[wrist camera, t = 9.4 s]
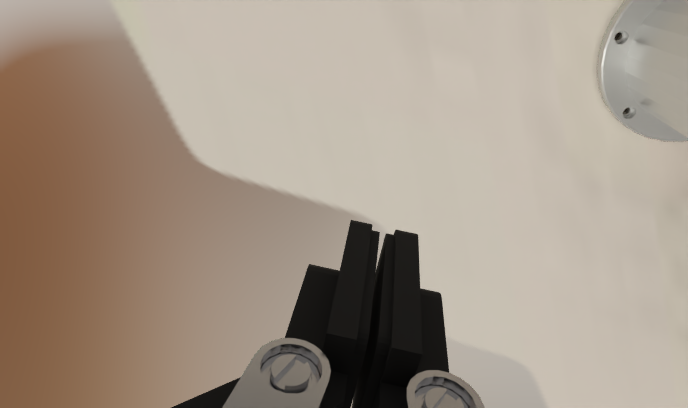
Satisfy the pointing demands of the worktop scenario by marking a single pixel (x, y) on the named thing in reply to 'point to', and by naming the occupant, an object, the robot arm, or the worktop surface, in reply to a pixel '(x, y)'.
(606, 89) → the robot arm
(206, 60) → the worktop surface
